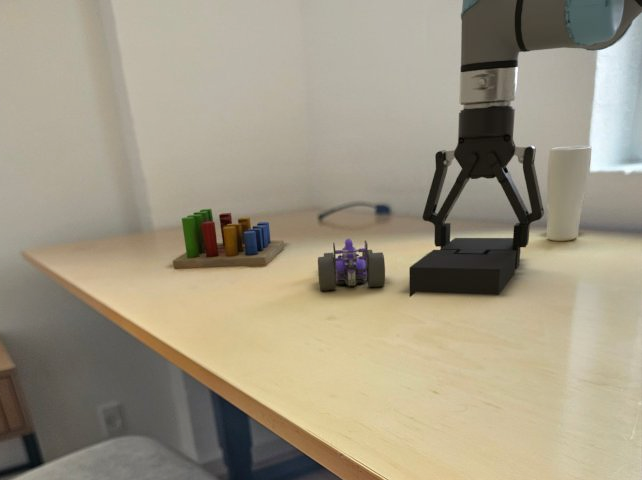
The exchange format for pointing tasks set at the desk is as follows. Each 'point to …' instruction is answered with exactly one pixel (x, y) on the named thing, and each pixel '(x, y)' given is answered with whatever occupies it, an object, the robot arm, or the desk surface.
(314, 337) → the desk surface
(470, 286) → the notch pad
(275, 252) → the peg board
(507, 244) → the tab pad
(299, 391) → the desk surface
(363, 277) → the toy race car
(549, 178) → the drinking glass
